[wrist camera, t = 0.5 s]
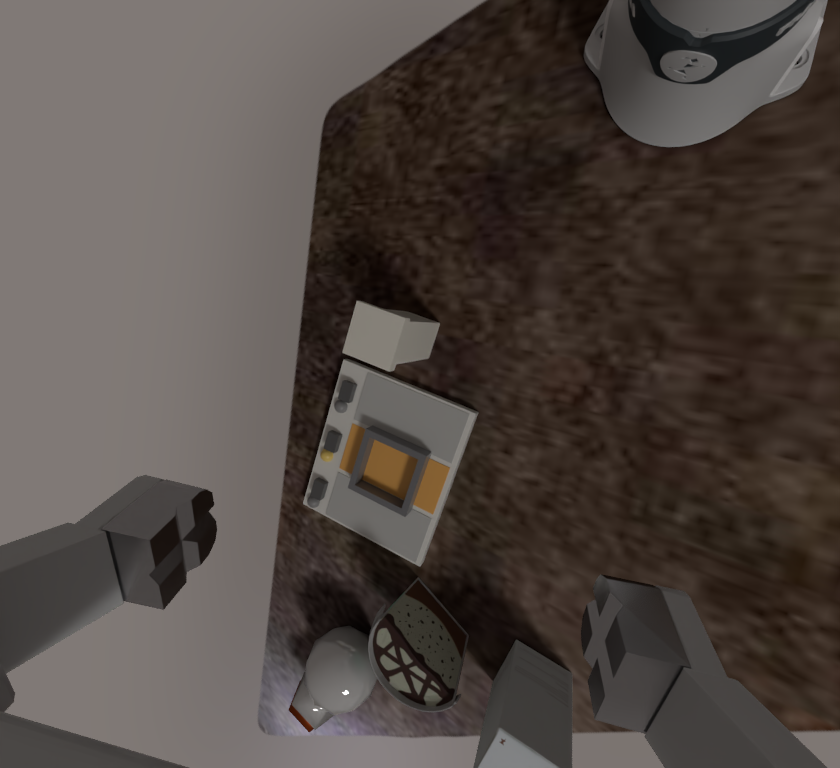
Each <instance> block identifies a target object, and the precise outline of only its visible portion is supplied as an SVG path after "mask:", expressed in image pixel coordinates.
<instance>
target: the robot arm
mask: <svg viewBox="0 0 840 768" xmlns="http://www.w3.org/2000/svg"><path fill="white" fill-rule="evenodd" d="M827 1H828V0H609V2H608V4H607V5H606V7H605V9H604V11H603V13H602V15H601V16H600V18H599V20H598V22H597V24H596V25H595V27H594V29H593V31H592V33H591V35H590V36H589V38H588V40H587V42H586V45H585V49H584V60H585V62H586V64H587V65H588V67H589V68H590V69H591V71H592V72H593V73H594V74H595V75H596V76H597V77H598V79H599V81H600V83H601V87H602V91H603V95H604V100H605V103H606V106H607V109H608V111H609V113H610V115H611V117H612V118H613V120H614V121H615V122H616V124H617V125H618V126H619V127H620V128H621V129H622V130H623V131H624V132H626V133H627V134H628V135H630V136H631V137H633V138H635V139H637V140H639V141H641V142H644V143H647V144H650V145H655V146H662V147H680V146H687V145H692V144H696V143H699V142H703V141H706V140H708V139H711V138H713V137H715V136H717V135H719V134H721V133H723V132H725V131H726V130H728V129H730V128H731V127H733V126H734V125H736V124H737V123H738V122H740V121H741V120H742V119H743V118H745V117H746V116H747V115H748V114H750V113H751V112H752V111H754V110H755V109H757V108H758V107H760V106H762V105H764V104H767V103H770V102H773V101H775V100H778V99H781V98H783V97H785V96H788V95H790V94H792V93H793V92H795V91H797V90H798V89H799V88H800V87H801V86H802V85H803V83H804V82H805V80H806V79H807V77H808V75H809V72H810V68H811V64H812V60H813V56H814V52H815V48H816V45H817V41H818V37H819V33H820V29H821V25H822V23H823V17H824V13H825V9H826V5H827ZM601 35H603V36H602V39H601V38H600V36H601ZM797 61H798V64H797V65H795V64H796V62H797ZM213 506H214V502H213V495H212V492H210V491H208V490H206V489H202V488H198V487H194V486H190V485H186V484H182V483H178V482H174V481H170V480H163V479H159V478H155V477H151V476H147V475H144V476H140V477H137V478H135V479H134V480H133V481H131V482H130V483H128V484H127V485H126V486H124V487H123V488H122V489H121V490H119V491H118V492H117V493H115V494H114V495H113V496H111V497H110V498H109V499H107V500H106V501H105V502H103V503H102V504H101V505H99V506H98V507H97V508H95V509H94V510H93V511H92V512H90V513H89V514H88V515H86V516H85V517H84V518H82V519H81V520H80V521H78V522H77V523H76V524H71V523H66V524H63V525H60V526H57V527H54V528H51V529H48V530H45V531H42V532H40V533H37V534H34V535H31V536H28V537H25V538H22V539H19V540H16V541H13V542H10V543H8V544H5V545H2V546H0V768H188V767H185V766H182V765H178V764H175V763H171V762H168V761H164V760H161V759H158V758H155V757H151V756H148V755H144V754H141V753H138V752H135V751H131V750H128V749H125V748H121V747H118V746H115V745H111V744H108V743H105V742H101V741H98V740H95V739H91V738H88V737H84V736H81V735H78V734H74V733H71V732H68V731H64V730H61V729H57V728H54V727H51V726H48V725H44V724H41V723H38V722H34V721H31V720H28V719H24V718H21V717H17V716H14V715H11V714H7V713H4V712H5V710H6V709H7V708H8V707H9V706H10V705H11V704H12V703H13V702H14V696H15V692H14V691H13V688H12V686H11V684H10V682H9V679H8V677H7V675H6V673H8V672H10V671H11V670H13V669H15V668H16V667H18V666H20V665H21V664H23V663H25V662H26V661H28V660H30V659H31V658H33V657H35V656H36V655H38V654H40V653H41V652H43V651H45V650H46V649H48V648H50V647H52V646H53V645H55V644H56V643H58V642H60V641H61V640H63V639H65V638H66V637H68V636H70V635H72V634H73V633H75V632H77V631H78V630H80V629H82V628H83V627H85V626H87V625H88V624H90V623H92V622H93V621H95V620H97V619H99V618H100V617H102V616H104V615H105V614H107V613H108V612H110V611H112V610H114V609H115V608H117V607H119V606H120V605H122V604H123V603H124V601H126V602H131V603H136V604H140V605H145V606H149V607H154V608H159V609H165V607H166V606H167V605H168V604H169V603H170V601H171V600H172V599H173V598H174V596H175V595H176V594H177V593H178V591H180V589H181V588H182V587H183V586H184V585H185V583H186V574H187V571H189V570H192V569H194V568H196V567H198V566H199V565H201V564H202V563H203V561H204V560H205V559H206V557H207V556H208V555H209V553H210V551H211V549H212V547H213V544H214V542H215V539H216V532H217V526H216V521H215V519H214V518H213V517H212V515H211V514H210V513H209V510H210V509H211V508H212V507H213ZM593 590H594V594H595V599H596V600H594V601H592V602H590V603H588V604H587V606H586V609H585V612H584V614H583V619H582V627H581V641H582V649H583V655H584V658H585V659H586V660H587V662H588V663H589V664H590V665H591V667H592V668H593V669H592V672H591V674H590V676H589V679H588V685H589V690H590V696H591V701H592V707H593V713H594V718H595V720H599V721H602V722H606V723H609V724H613V725H616V726H620V727H623V728H627V729H630V730H634V731H637V732H641V733H644V734H645V738H646V739H647V741H648V742H649V744H650V746H651V747H652V749H653V750H654V752H655V753H656V755H657V756H658V758H659V759H660V761H661V762H662V764H663V766H664V767H665V768H827V767H826V766H825V765H824V764H823V763H822V762H821V761H820V760H819V759H818V758H817V757H816V756H815V755H814V754H813V753H812V752H811V751H810V750H809V749H807V748H806V747H805V746H804V745H803V744H802V743H801V742H800V741H799V740H798V739H797V738H796V737H795V736H794V735H793V734H792V733H791V732H790V731H789V730H788V729H787V728H786V727H785V726H784V725H783V724H782V723H781V722H780V721H779V720H778V719H777V718H776V717H775V716H773V715H772V714H771V713H770V712H769V711H768V710H767V709H766V708H765V707H764V706H763V705H762V704H761V703H760V702H759V701H758V700H757V699H756V698H755V697H754V696H753V695H752V694H751V693H750V692H749V691H748V690H747V689H746V688H745V687H744V686H743V685H742V684H741V683H740V682H738V681H737V680H734V679H731V678H728V677H727V675H726V673H725V671H724V669H723V667H722V665H721V663H720V660H719V658H718V656H717V654H716V652H715V650H714V648H713V645H712V643H711V641H710V639H709V637H708V635H707V633H706V631H705V628H704V626H703V624H702V622H701V620H700V618H699V616H698V614H697V611H696V609H695V607H694V605H693V603H692V601H691V599H690V597H689V596H688V595H687V594H686V593H685V592H684V591H681V590H676V589H671V588H666V587H661V586H653V585H650V584H645V583H640V582H636V581H631V580H626V579H621V578H616V577H611V576H607V575H602V574H601V575H600V576H599V577H598V578H597V580H596V582H595V585H594V587H593Z"/></svg>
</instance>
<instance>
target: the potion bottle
mask: <svg viewBox="0 0 840 768" xmlns="http://www.w3.org/2000/svg"><path fill="white" fill-rule="evenodd" d="M368 642H369V636H368V634H366V633H364V632H362V631H360V630H358V629H356V628H354V627H352V626H344V627H339V628H334V629H332V630H331V631H329V632H328V633H326V634H325V635H323V636H322V637H320V638H318V639H317V640H315V643H314V645H313V648H312V650H311V653H310V655H309V658H308V660H307V663H306V671H305V672H304V675H303V677H302V680H301V681H300V683H299V685H298V688H297V690H296V693H295V695H294V698H293V700H292V703H291V705H290V708H289V711H290V712H291V713H292V714H293V715H294V716H295V717H296V719H297V720H298V721H299V722H300V723H301V724H302V725H303V726H304V727H305V728H306V729H307V731H308V732H310V731H312V730H313V729H315V730H316V729H317V728H318V727H320V726H321V725H322V724H323V723H325V722H326V721H327V720H329V719H330V718H331V717H332V716H334V715H338V714H342V713H346V712H351V711H353V710H355V709H356V708H357V707H358V706H360V705H361V704H362V703H363V702H365V701H366V700H367V699H368V698H370V697H371V694H372V691H373V689H374V686H375V683H376V681H377V677H376V675H375V673H374V671H373V668H372V666H371V663H370V659H369V652H368Z"/></svg>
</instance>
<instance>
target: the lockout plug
mask: <svg viewBox="0 0 840 768" xmlns="http://www.w3.org/2000/svg"><path fill="white" fill-rule="evenodd" d="M439 326H440V323H438V322H436V321H433V320H430V319H427V318H424V317H422V316H419V315H416V314H413V313H410V312H408V311H399V310H390V309H383V308H380V307H377V306H374V305H372V304H369V303H366V302H363V301H357V302H356V306H355V309H354V313H353V317H352V320H351V324H350V327H349V331H348V334H347V338H346V342H345V345H344V349H343V352H342V353H344V354H347V355H349V356H352V357H354V358H357V359H359V360H362V361H364V362H367V363H369V364H371V365H374V366H376V367H379V368H381V369H384V370H386V371H389V372H390V371H394V370H395V367H396V364H401V363H406V362H412V361H417V360H423V359H428V358H429V356H430V353H431V350H432V347H433V344H434V341H435V338H436V335H437V332H438V329H439Z"/></svg>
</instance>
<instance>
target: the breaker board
mask: <svg viewBox="0 0 840 768" xmlns="http://www.w3.org/2000/svg"><path fill="white" fill-rule="evenodd" d="M477 415H478V412H477V411H475V410H472V409H470V408H467V407H465V406H463V405H460V404H458V403H455V402H453V401H450V400H448V399H445V398H443V397H441V396H438V395H436V394H433V393H431V392H428V391H426V390H423V389H421V388H418V387H416V386H414V385H411V384H409V383H406V382H404V381H401V380H399V379H396V378H394V377H392V376H389V375H387V374H384V373H382V372H379V371H377V370H374V369H372V368H370V367H367V366H365V365H362V364H360V363H357V362H355V361H352V360H350V359H343V363H342V367H341V370H340V374H339V377H338V381H337V384H336V388H335V391H334V395H333V399H332V402H331V406H330V409H329V413H328V416H327V420H326V423H325V427H324V430H323V434H322V438H321V441H320V445H319V448H318V452H317V455H316V459H315V462H314V466H313V469H312V473H311V477H310V480H309V484H308V487H307V491H306V494H305V498H304V501H303V504H304V505H306V506H308V507H310V508H312V509H314V510H315V511H317V512H319V513H321V514H323V515H325V516H327V517H328V518H330V519H332V520H334V521H336V522H338V523H340V524H341V525H343V526H345V527H347V528H349V529H351V530H353V531H354V532H356V533H358V534H360V535H362V536H364V537H366V538H367V539H369V540H371V541H373V542H375V543H377V544H379V545H380V546H382V547H384V548H386V549H388V550H390V551H392V552H393V553H395V554H397V555H399V556H401V557H403V558H405V559H406V560H408V561H410V562H412V563H414V564H416V565H418V566H419V567H420V566H421V565H422V563H423V562H424V559H425V556H426V554H427V551H428V548H429V545H430V543H431V540H432V537H433V535H434V532H435V529H436V526H437V524H438V521H439V518H440V515H441V513H442V510H443V507H444V505H445V502H446V499H447V496H448V494H449V491H450V488H451V486H452V483H453V480H454V477H455V475H456V472H457V469H458V466H459V464H460V461H461V458H462V456H463V453H464V450H465V447H466V445H467V442H468V439H469V437H470V434H471V431H472V428H473V426H474V423H475V420H476V417H477Z"/></svg>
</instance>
